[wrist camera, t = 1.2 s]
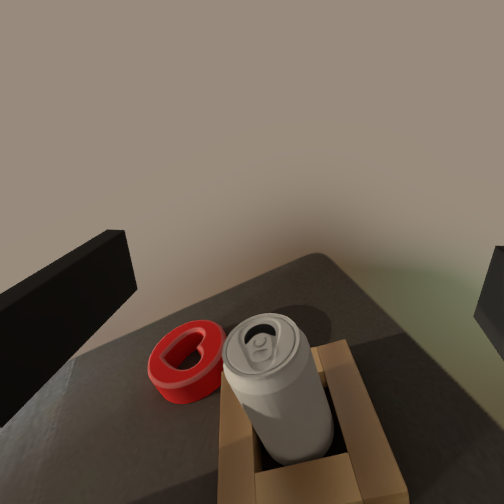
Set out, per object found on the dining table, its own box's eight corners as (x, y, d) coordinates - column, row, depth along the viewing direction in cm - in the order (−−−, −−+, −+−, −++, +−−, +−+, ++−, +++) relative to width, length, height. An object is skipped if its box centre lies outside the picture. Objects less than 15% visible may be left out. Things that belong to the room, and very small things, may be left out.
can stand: (349, 355, 33) (345, 338, 32) (410, 506, 22) (408, 490, 20) (229, 385, 35) (221, 371, 33) (228, 543, 23) (215, 530, 22)
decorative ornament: (152, 362, 41) (141, 346, 40) (217, 323, 44) (209, 307, 42) (167, 421, 33) (153, 404, 32) (246, 370, 36) (237, 351, 34)
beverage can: (325, 391, 31) (295, 298, 25) (346, 463, 25) (314, 366, 19) (261, 407, 31) (217, 321, 25) (268, 481, 26) (214, 393, 20)
